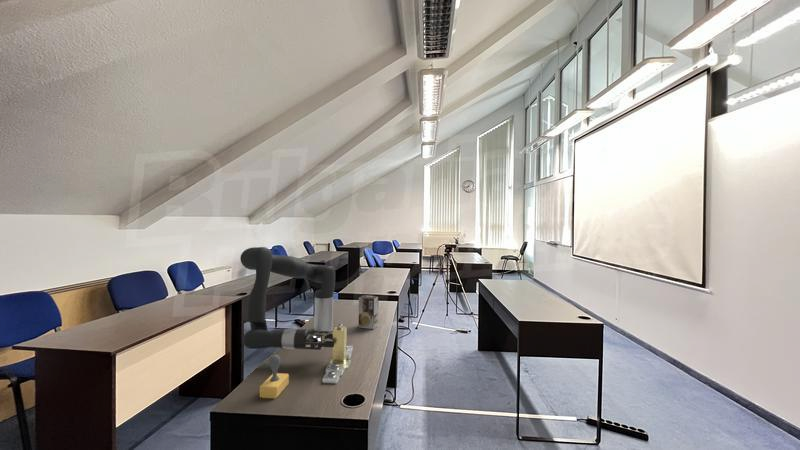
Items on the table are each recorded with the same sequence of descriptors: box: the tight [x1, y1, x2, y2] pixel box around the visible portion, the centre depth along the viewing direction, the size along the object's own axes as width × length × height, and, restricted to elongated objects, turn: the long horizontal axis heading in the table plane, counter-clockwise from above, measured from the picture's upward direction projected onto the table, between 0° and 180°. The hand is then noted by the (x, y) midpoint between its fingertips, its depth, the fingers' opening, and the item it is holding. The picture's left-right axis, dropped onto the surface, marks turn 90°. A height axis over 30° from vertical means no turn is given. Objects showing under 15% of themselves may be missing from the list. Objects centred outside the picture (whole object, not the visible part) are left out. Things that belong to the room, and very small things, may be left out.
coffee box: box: [358, 294, 379, 330], centre depth 185 cm, size 9×6×16 cm
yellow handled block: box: [259, 354, 290, 400], centre depth 116 cm, size 10×6×12 cm, turn 175°
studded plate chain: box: [322, 344, 354, 384], centre depth 137 cm, size 32×8×3 cm, turn 178°
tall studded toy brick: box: [331, 323, 348, 364], centre depth 137 cm, size 4×4×15 cm
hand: (336, 340), depth 137 cm, fingers open, 8 cm apart
